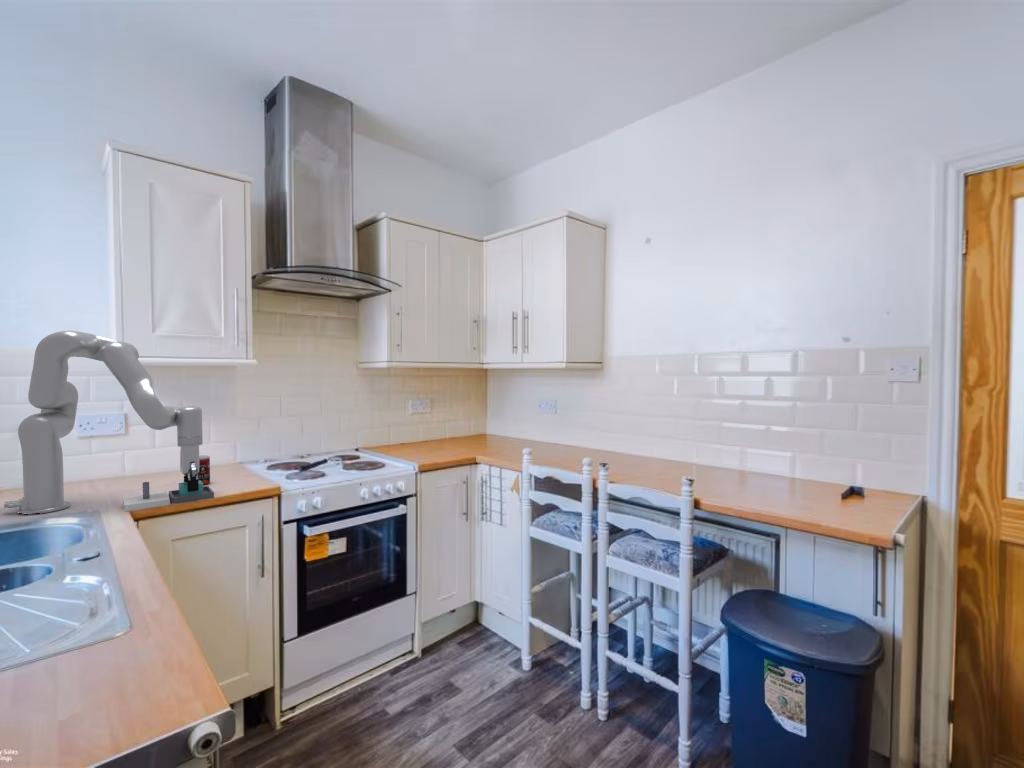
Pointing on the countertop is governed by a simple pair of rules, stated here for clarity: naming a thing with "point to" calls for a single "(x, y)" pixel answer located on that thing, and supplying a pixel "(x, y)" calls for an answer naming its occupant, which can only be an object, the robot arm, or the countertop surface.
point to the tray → (205, 495)
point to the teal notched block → (184, 489)
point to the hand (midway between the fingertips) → (191, 488)
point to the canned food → (204, 469)
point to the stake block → (145, 500)
